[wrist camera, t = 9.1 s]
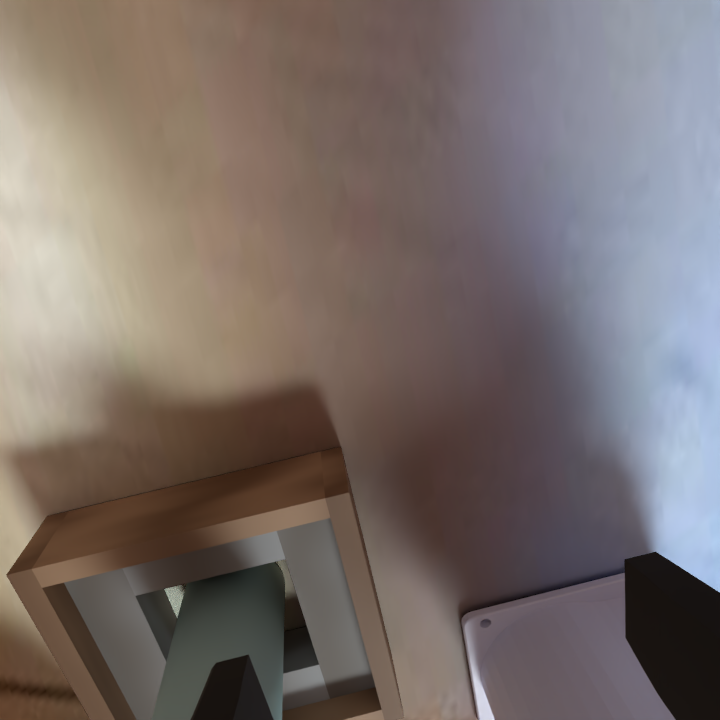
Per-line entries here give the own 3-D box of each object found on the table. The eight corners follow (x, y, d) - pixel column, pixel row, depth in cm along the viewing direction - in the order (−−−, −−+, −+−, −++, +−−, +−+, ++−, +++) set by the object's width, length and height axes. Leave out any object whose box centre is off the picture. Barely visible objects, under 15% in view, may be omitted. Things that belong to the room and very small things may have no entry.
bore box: (341, 446, 20) (349, 492, 17) (391, 653, 24) (404, 718, 21) (47, 516, 19) (6, 574, 17) (149, 715, 24) (130, 789, 21)
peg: (275, 540, 21) (263, 788, 13) (292, 615, 23) (291, 881, 14) (175, 558, 21) (95, 823, 12) (199, 632, 22) (141, 914, 14)
